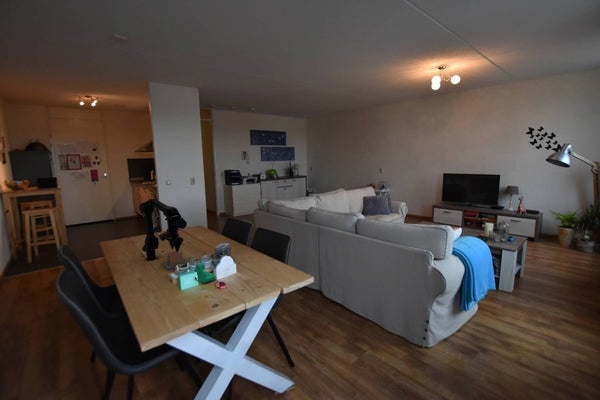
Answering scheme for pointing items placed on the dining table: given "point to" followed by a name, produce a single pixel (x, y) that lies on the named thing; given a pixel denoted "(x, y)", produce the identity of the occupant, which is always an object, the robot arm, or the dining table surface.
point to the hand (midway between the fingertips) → (174, 250)
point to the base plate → (169, 267)
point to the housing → (175, 257)
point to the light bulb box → (223, 249)
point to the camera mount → (203, 273)
